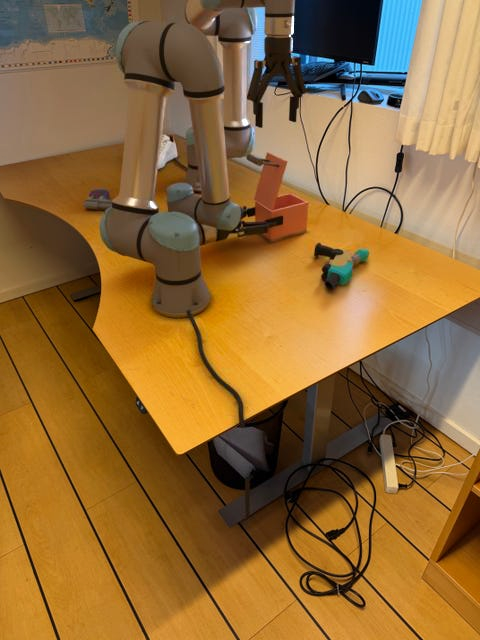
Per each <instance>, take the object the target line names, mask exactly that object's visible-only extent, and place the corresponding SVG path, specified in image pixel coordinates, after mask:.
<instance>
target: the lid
mask: <svg viewBox="0 0 480 640" xmlns="http://www.w3.org/2000/svg"><path fill="white" fill-rule="evenodd" d="M245 159H246V160H247V161H248V162H250V163H253V164H254V165H256V166H258V167H262V168H261V173H260V175H259V180H258V183H257V187H256V189H255V190H256V191H255V195H254V197H253V200H254V202H256V201H257V202H259V203H260V204H262V205H263V206H265V207H267V208H268V209H270V210H273V209H274V206H275V202H276V199H277V196H279V192H280V188H281V185H282V182H283V178H284V175H285V171H286V168H287V166H288V160H286V159H284V158H282V157H280V156H278V155H275V154H273V153H271V152H266V154H265V158H262V157H257V156H255V155H253V154H252V153H251V154H248V155H247V156H246V158H245Z"/></svg>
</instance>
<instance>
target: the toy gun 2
mask: <svg viewBox="0 0 480 640" xmlns="http://www.w3.org/2000/svg"><path fill="white" fill-rule="evenodd" d="M313 256H314V257H315V258H318V257H319V256H320V257H327V258H329V261H328V262H326V263H324V265H323V266H322V267H321V271H322V273H321V275H320V278H321V280H322V281H324V287H325V289H327V291H329V292H333V291H334V290H335V288H337V287H338V286H339V285H341V286H343V285H344V286H345V285H346V284H347V283H349V282H350V281H351V280H352V278H353V275H354V271H353V267H355V266H357V265H359V263H364V262H365V261H367V259H368V258H369V257H370V250H369V249H367V248H358V249H357V250H355V252H354V254H352V252H351V251H350V250H347V249H342V248H341V249H340V248H333V247H331V246H327V245H323V244H322V243H321V242H317V243H316V244H315V245H314V252H313Z"/></svg>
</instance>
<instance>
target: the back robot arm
mask: <svg viewBox="0 0 480 640" xmlns="http://www.w3.org/2000/svg"><path fill="white" fill-rule="evenodd" d="M295 2H296V0H188V1H186V4H185V6H184V19H185V22H186V23H188V24H191V25H193V26H195V27H196V28H198V29H199V30H200V31H201V32H202V33H204V35H205V36H206V37H207V36H208V37H217V42H218V43H219V45H221V47H222V72H223V76H224V85H225V93H224V94H223V124H224V135H225V146H226V158H227V160H229V159H242V158H245V157H247V155H248V154H251V155H252V153H253V151H254V149H255V145H256V130H255V127H257V128H260V129H261V128H263V127H264V126H263V121H264V102H261V101H262V99H263V97H264V95H265V93H266V91H267V89H268V87H269V85H270V83H271V81H272V80H273V79H274V77H279V76H282V77H283V78H284V80H285V83H286V84H287V86H288V89H289V91H290V93H291V96H289V107H288V108H289V109H288V110H289V111H288V122H289V121H290V122H292V123H297V118H298V117H297V115H298V110H299V108H300V99H301V98H303V95H305V94H306V92H307V90H306V85H305V81H304V75H303V69H302V57H301V56H296V55H294V56H292V52H293V47H294V46H293V45H294V43H293V42H294V38H293V37H292V35H293V34H294V25H295V23H294V22H295ZM256 8H264V29H263V31H264V32H263V33H264V35H265V37H264V40H263V41H264V42H263V51H264V59H263V60H260V59H259V60H258V59H254V61H253V72H252V76H251V80H250V84H249V88H247V86H248V85H247V82H248V81H247V79H248V76H247V74H248V71H247V70H248V69H247V68H248V66H247V65H248V63H247V60H248V45H250V43H251V42H252V36H254V35H255V34H256V33H257V30H258V15H257V10H256ZM291 67H292V70H291ZM263 70H264V71H263ZM247 89H248V91H247ZM247 100H248V101H250V102H252V106H253V107H252V114H253V115H255V116H254V117H255V118H254V121H255V124H254V126H253V125H252V124H251V120H250V119H249V118H248V117H247ZM185 145H186V146H185V147H186V158H187V166H185V165H184V164H183V163H181V162H180V161H179V160H178V159H177V157H176V158H174V159H173V160H174V161H175V162H176V164H178V165H179V166H181V168H184V169H185V170H186V174H185V179H184V183H187V184H189V185H191V186H192V188H193V191H194V193H200V194H202V193H201V186H200V178H199V171H198V164H197V156H196V149H195V142H194V134H193V127H192V126H191V127H189V128H188V129H187V130H186V132H185Z"/></svg>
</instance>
